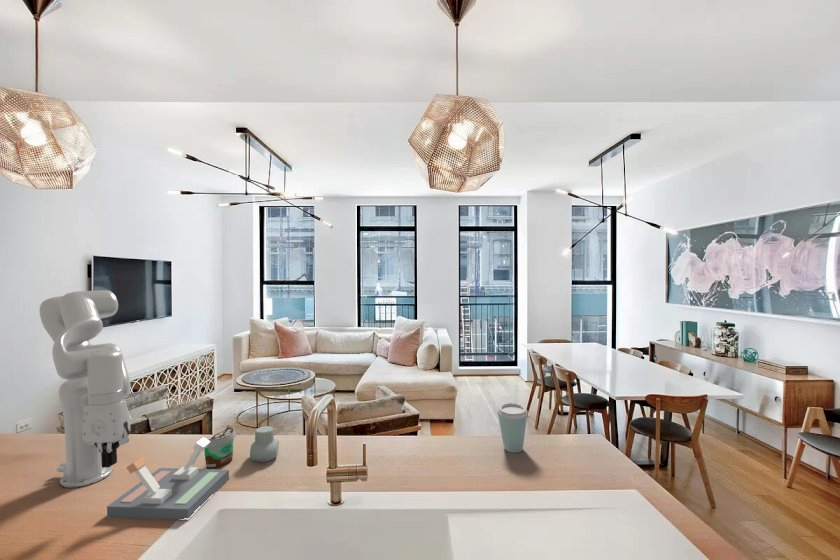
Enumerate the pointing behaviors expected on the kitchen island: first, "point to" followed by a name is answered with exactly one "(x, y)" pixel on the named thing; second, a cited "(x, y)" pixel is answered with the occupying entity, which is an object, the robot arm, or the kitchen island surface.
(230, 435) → the food container
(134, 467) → the lever
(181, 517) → the switch panel
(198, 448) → the lever
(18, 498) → the kitchen island surface
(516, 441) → the disposable coffee cup
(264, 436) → the air freshener
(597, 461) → the kitchen island surface
